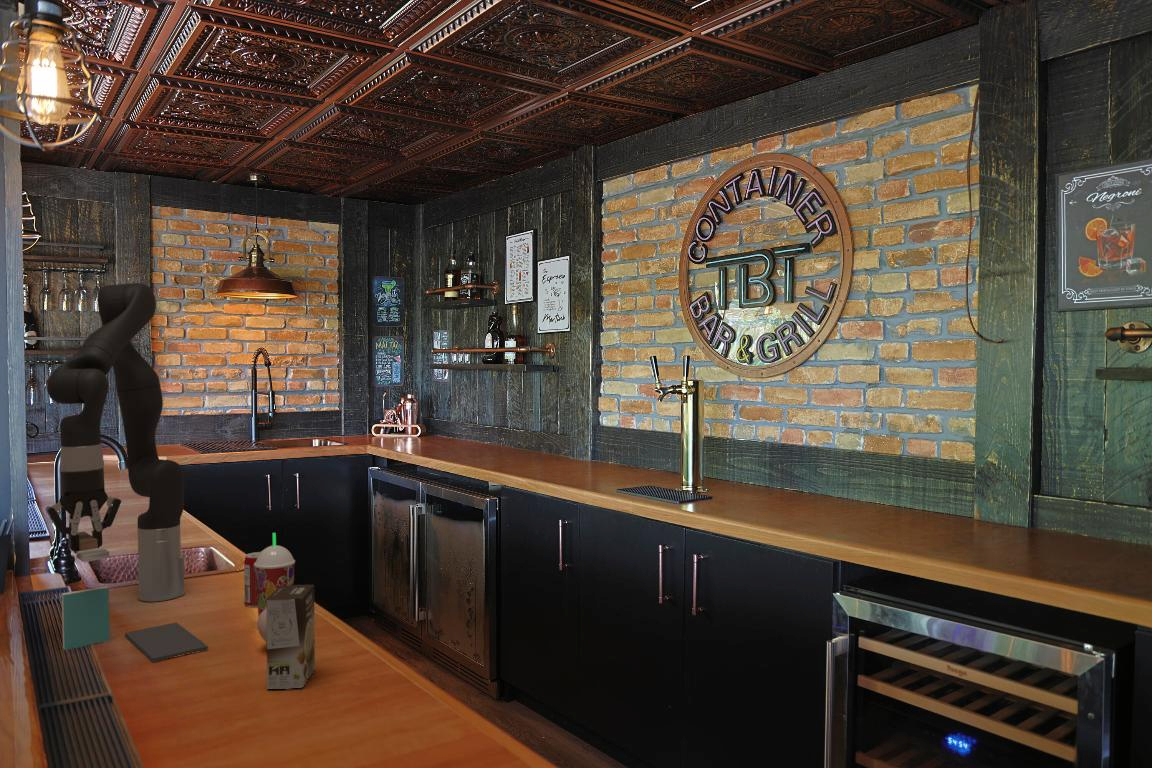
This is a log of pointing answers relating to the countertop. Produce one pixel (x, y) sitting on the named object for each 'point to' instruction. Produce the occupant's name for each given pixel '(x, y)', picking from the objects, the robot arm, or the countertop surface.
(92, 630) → the tile
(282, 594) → the coffee box
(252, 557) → the soda can
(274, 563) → the smoothie
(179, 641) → the mat
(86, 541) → the tan two-tone long part
